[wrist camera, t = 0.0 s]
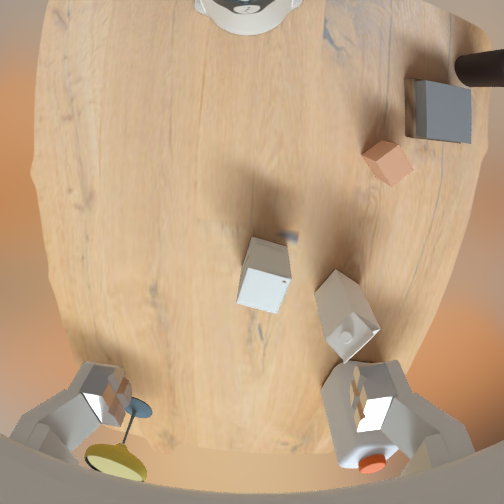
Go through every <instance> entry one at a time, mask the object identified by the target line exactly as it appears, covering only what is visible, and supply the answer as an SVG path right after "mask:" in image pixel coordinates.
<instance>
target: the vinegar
mask: <svg viewBox="0 0 504 504" xmlns="http://www.w3.org/2000/svg"><path fill="white" fill-rule="evenodd" d="M455 70H456V74H457V76H458V78H459V80H460V81H461V82H462V83H463V84H464V85H466V86H469V87H504V49H501V50H494V51H487V52H481V53H475V54H469V55H464V56H461V57H459V58H458V59H457V60H456V64H455Z"/></svg>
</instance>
